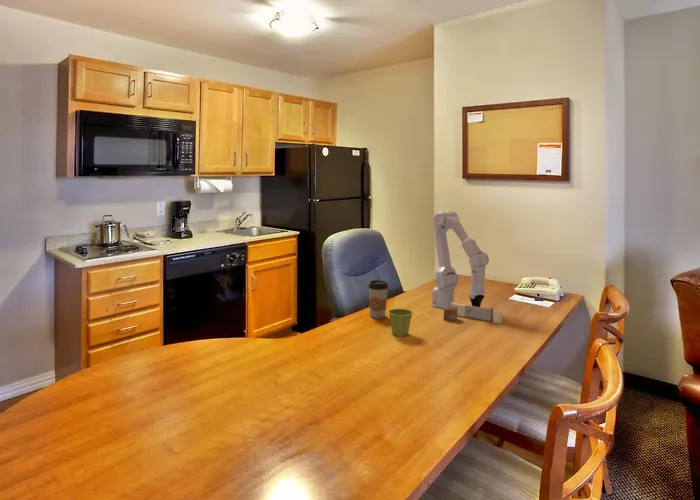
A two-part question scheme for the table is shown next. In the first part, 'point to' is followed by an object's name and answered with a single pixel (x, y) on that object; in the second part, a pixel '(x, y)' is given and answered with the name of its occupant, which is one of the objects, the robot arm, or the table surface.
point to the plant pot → (400, 321)
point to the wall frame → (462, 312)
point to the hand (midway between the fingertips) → (475, 311)
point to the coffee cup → (378, 298)
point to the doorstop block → (450, 314)
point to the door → (479, 313)
